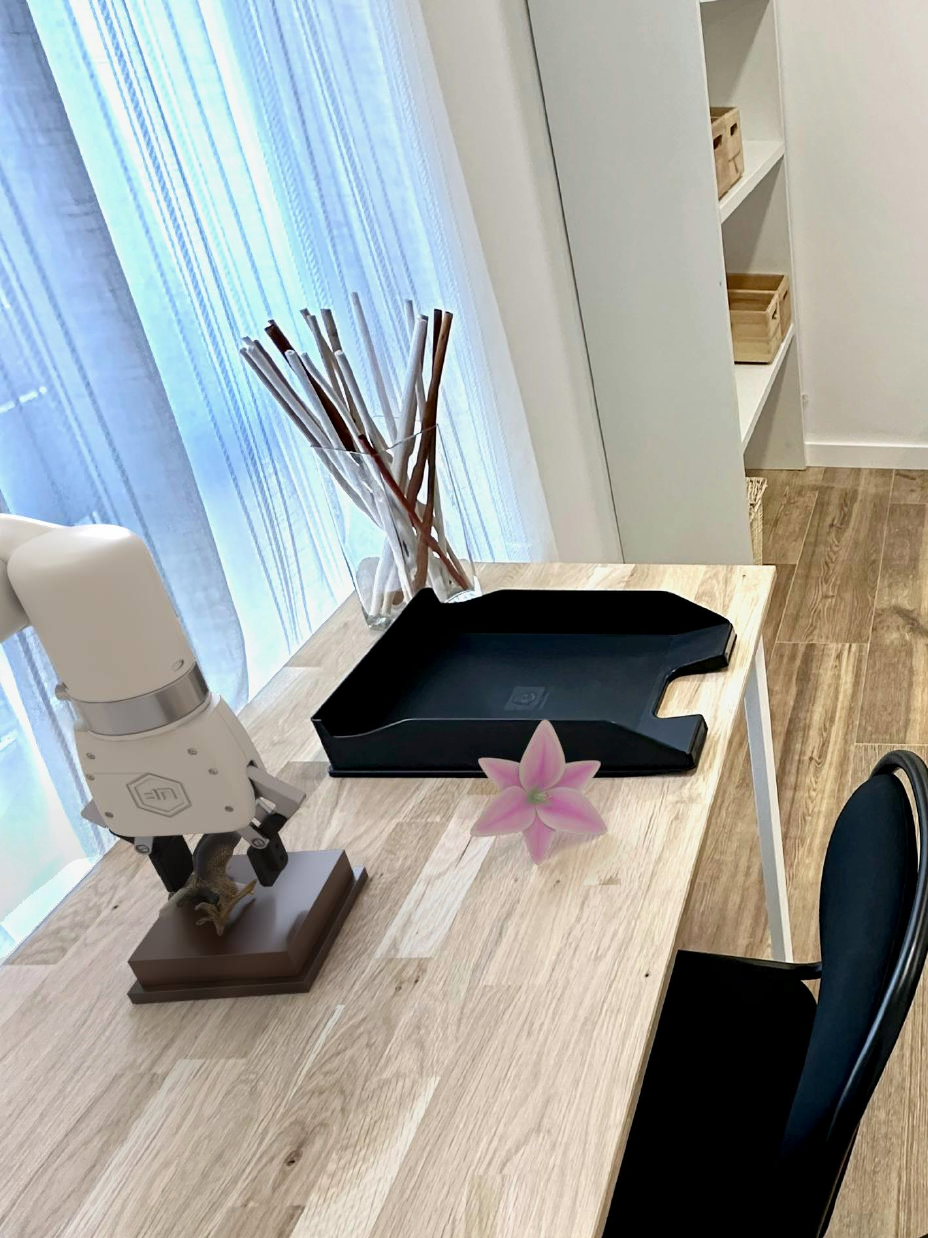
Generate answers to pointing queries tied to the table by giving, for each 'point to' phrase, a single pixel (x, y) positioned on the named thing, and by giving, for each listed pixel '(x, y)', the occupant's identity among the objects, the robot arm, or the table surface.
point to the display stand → (251, 934)
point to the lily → (539, 795)
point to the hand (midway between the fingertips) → (229, 875)
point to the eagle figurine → (210, 881)
